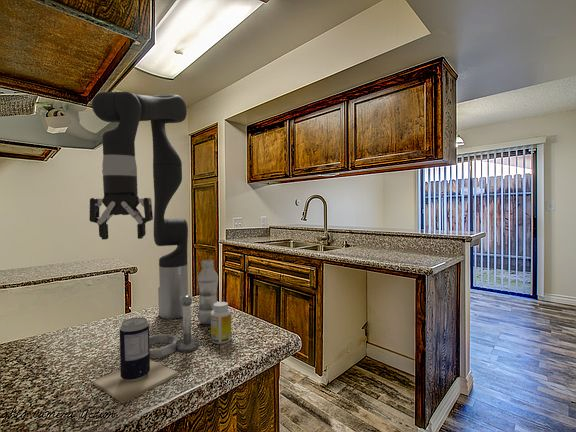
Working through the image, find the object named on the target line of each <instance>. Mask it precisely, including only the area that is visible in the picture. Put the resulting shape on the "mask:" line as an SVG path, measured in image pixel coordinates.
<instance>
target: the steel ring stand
mask: <svg viewBox="0 0 576 432" xmlns="http://www.w3.org/2000/svg"><path fill="white" fill-rule="evenodd" d="M192 303H193V298H192V296H190V295H188V296H184V297H183V298H182V299H181V304H182V305H183V317H182V328H183V330H182V331H183V332H182V334H183V335H182V338H183V339H180V340H179V336H176V335H173V334H170V333H164V334H163V333H162V334H153V335H149V346H152V345H154V344H163V343H168V344H167V345H165V346H162V347H156V348H150V359H159V358H163V357H166V356H169V355H170V354H172V353H174V352H176V351H177V352H181V353H186V352H192V351H194V350H197V349H198V348H199V347H200V339H198V338H193V337H192V313H191V311H192V310H191V308H192V306H191V305H192Z"/></svg>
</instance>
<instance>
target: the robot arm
mask: <svg viewBox="0 0 576 432" xmlns="http://www.w3.org/2000/svg"><path fill="white" fill-rule="evenodd" d="M91 108H92V111H93V113H94V114H95V116H96V117H97V118H98V119H100V120H101V121H103V122H105V123H106V122H107V123H118V125H117V127H115V128H114V129H111V130H108V131H105V132H104V133H103V134H102V137H101V138H102V164H101V165H102V170H101V172H102V185H103V187H102V188H103V189H102V190H103V197H102V198H99V197H91V198H90V199H89V218H88V219H89V222H91V223H95V224H97V225H98V237H99V238H101V240H108V239H109V224H108V221H109V220H110V219H111V217H113V216H120V215H122V216H129V215H130V216H131V218H133V219H134V220H135V221H136V222H137V224H136V230H137V239H138V240H140V239H144V236H146V232H147V231H146V230H147V229H146V224H147V223H148V222H151V221H153V240H154V243H155V245H156V246H157V247H166V246H167V247H168V246H169V247H170V246H171V247H172V246H176V248H175V249H174V250H173V251H171V252H169V253H167V254H164V255H163V256H161V257H159V259H158V274H159V277H158V279H159V281H158V282H159V286H158V289H157V291H158V292H157V297H158V298H157V299H158V315H159V317H160V318H161V319H166V320H172V319H173V320H174V319H179V318H183V305H182V304H181V299H182V298H183V297H184V296H189V272H188V270H189V267H188V263H189V262H188V243H189V242H188V241H189V240H188V239H189V227H188V222H187V220H186V219H185V218H178V217H177V218H165V214H166V209H167V207H168V205H169V202H170V201H171V200H172V198H173V197H174V195H175V193H176V192H177V190H178V189H179V187H180V185H181V183H182V181H183V162H182V159H181V157H180V156H179V154H178V153H177V151H176V149H175V147H174V146H173V145H172V143H171V142H170V140H169V139H168V136H167V131H166V124H178V123H182V122H184V121H185V120H186V118H187V114H188V110H187V109H188V108H187V105H186V102H185V100H184V99H183V97H181V96H180V95H178V94H156V95H153V96H152V95H147V94H146V95H144V94H135V93H133V92H130V91H103V92H99V93H96V94H95V95H94V97H93V98H92V100H91ZM148 121H150V126H151V128H150V129H151V136H152V137H151V138H152V173H153V174H152V177H153V192H154V195H153V196H154V202H153V203H154V205H152V197H144V198H139V195H138V168H137V167H138V165H137V161H136V146H135V141H136V137H137V132H138V127H139V124H140V122H148ZM102 204H103V206H104V207H105V210H104V211H103V212H102V213H101V216H100V207H101V206H102ZM139 205H141V206H142V207H143V213H144V216H143V215H142V213H141V211H140V210H139V209H138V208H137V207H138V206H139ZM153 207H154V210H153Z"/></svg>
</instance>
